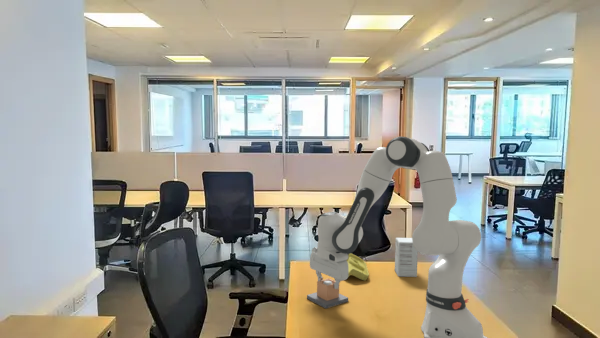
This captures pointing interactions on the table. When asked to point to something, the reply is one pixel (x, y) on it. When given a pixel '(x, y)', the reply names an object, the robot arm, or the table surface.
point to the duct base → (328, 303)
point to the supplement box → (405, 257)
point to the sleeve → (327, 290)
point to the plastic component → (357, 267)
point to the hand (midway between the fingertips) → (327, 284)
